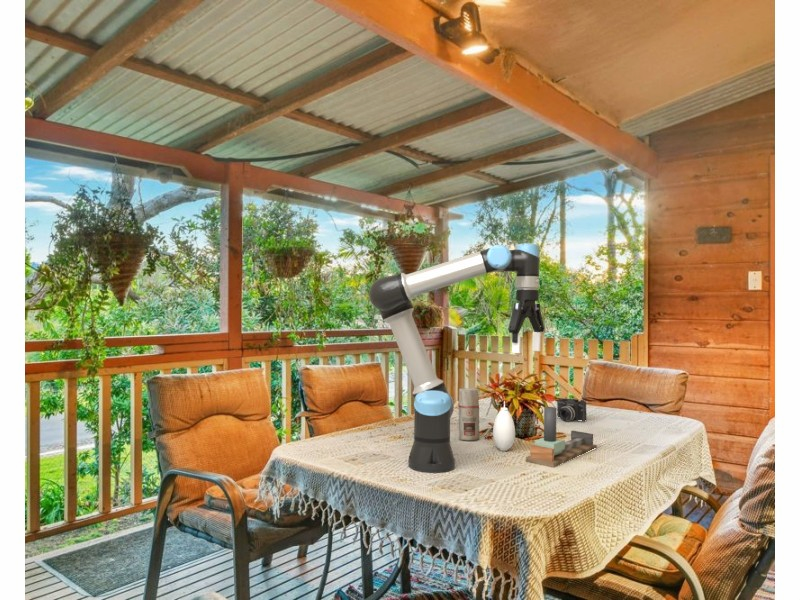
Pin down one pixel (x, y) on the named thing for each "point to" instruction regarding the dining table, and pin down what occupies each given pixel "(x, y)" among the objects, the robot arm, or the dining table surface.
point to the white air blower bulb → (504, 430)
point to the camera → (571, 409)
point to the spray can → (468, 414)
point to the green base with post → (550, 432)
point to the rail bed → (563, 456)
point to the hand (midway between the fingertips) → (526, 351)
